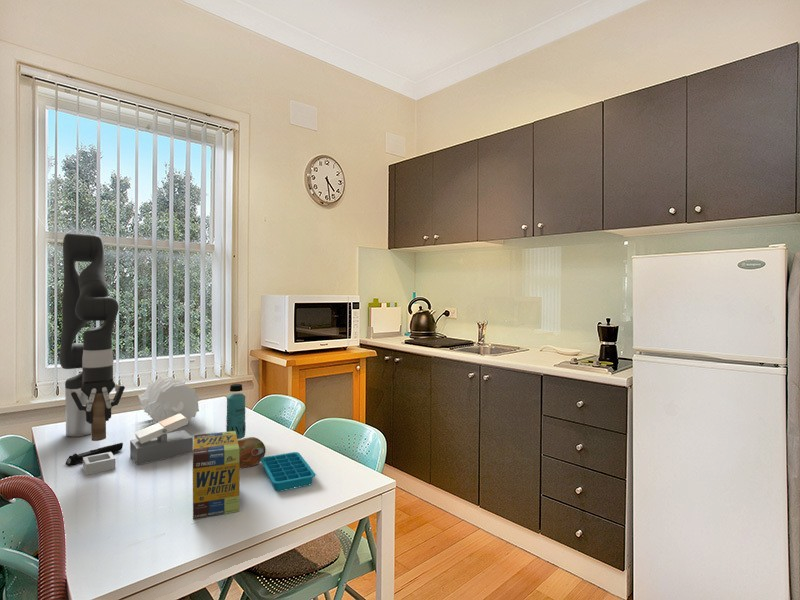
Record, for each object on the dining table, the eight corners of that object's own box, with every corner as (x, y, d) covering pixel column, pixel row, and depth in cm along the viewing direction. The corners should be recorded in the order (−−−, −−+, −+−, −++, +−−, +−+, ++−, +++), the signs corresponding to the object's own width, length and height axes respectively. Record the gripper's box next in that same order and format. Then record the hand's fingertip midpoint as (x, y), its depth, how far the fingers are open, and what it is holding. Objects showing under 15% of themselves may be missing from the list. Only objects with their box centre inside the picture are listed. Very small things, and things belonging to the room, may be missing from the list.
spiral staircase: (172, 423, 190) (191, 435, 171) (129, 412, 180) (143, 423, 161) (191, 382, 196) (211, 389, 177) (150, 369, 185) (166, 375, 166)
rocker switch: (136, 437, 143) (134, 431, 143) (181, 418, 152) (179, 412, 152) (141, 444, 138) (139, 437, 137) (188, 423, 146) (186, 417, 146)
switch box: (130, 455, 143) (130, 434, 143) (183, 444, 154) (183, 424, 154) (137, 465, 136) (136, 442, 136) (192, 452, 146) (192, 431, 146)
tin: (212, 473, 130) (212, 444, 130) (211, 469, 133) (211, 441, 133) (265, 464, 137) (265, 437, 137) (263, 460, 140) (263, 434, 140)
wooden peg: (90, 438, 134) (90, 392, 133) (104, 435, 136) (104, 390, 136) (92, 441, 131) (91, 394, 130) (106, 439, 133) (106, 392, 133)
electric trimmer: (125, 452, 147) (125, 443, 147) (69, 467, 134) (69, 457, 134) (120, 450, 149) (120, 440, 149) (64, 464, 137) (64, 454, 137)
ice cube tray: (273, 495, 118) (273, 483, 118) (259, 467, 136) (259, 457, 135) (316, 486, 123) (316, 475, 123) (298, 460, 141) (298, 451, 141)
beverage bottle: (221, 442, 156) (221, 385, 155) (235, 436, 162) (235, 381, 162) (236, 445, 153) (236, 387, 153) (250, 439, 160) (249, 383, 159)
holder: (82, 467, 134) (82, 457, 134) (111, 461, 139) (111, 451, 139) (86, 474, 129) (86, 464, 128) (115, 468, 133) (115, 458, 133)
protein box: (192, 520, 104) (192, 454, 104) (194, 492, 118) (193, 434, 118) (240, 511, 108) (240, 448, 108) (236, 485, 122) (236, 429, 122)
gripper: (123, 360, 140) (123, 414, 141) (67, 365, 131) (67, 423, 132) (128, 363, 135) (128, 420, 135) (69, 368, 125) (70, 429, 126)
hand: (98, 421), depth 133 cm, fingers closed on wooden peg, 3 cm apart
